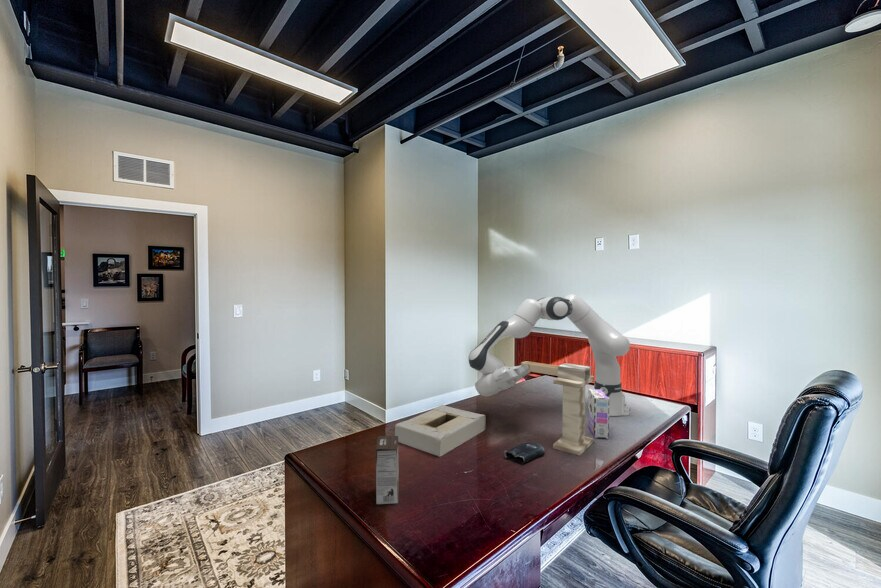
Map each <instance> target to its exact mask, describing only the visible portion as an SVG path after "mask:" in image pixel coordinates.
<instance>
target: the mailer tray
mask: <svg viewBox="0 0 881 588" xmlns="http://www.w3.org/2000/svg"><path fill="white" fill-rule="evenodd" d="M527 364H528V365H529V367H530V368H529V369H527V370H525V371H530V373H531V372H532V373H537V374H543V375H551V376H557V377H558V366H559V365H554V364H549V363H548V364H547V363H542V362H541V363H540V362H534V361H526V360H525V361H521V362H520V365H521V367H522V366H525V365H527Z"/></svg>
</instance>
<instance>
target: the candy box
mask: <svg viewBox="0 0 881 588" xmlns="http://www.w3.org/2000/svg"><path fill="white" fill-rule="evenodd" d="M587 392H588V393H587V394H588V397H587V399H588V404H587V409H588V417H587V419H588V420H587V421H588V428H589V430H590V432H591V434H592V436H593V438H595V439H605V440H606V439H607V440H609V439H610V436H609V435H610V432H609V431H610V416H609V398H608V397H607V395H606V394H605V393H604V392H603V391H602V390H600V389H595V388H588V391H587Z"/></svg>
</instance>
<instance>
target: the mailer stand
mask: <svg viewBox="0 0 881 588" xmlns="http://www.w3.org/2000/svg"><path fill="white" fill-rule="evenodd" d="M557 366H558V376H557V377H555V378H553V381H552V383H553V385H558V386H562V436H561V437H560V438H559V439H558V440H556V441H555V442H554V443H553V444H552V448H553V449H555V450H558V451H562V452H566V453H569V454H572V455H576V456H581V455H582V454H583V453H584V452H585V451H586V450H587V449H588V448H589V447H590V446H591V445H592V444H593V443H594V442H595V440H594V437H593V438H592V437H589V436H586V386H587V385H588V384H590V383H591V382H593V381H595V375H591V374H592V373H591V372H592V371H591V370H592V369H591V368H592V367H591V366H590V365H584V364H583V365H582V364H575V363H568V362H564V363H562V364H560V365H559V364H558V365H557Z"/></svg>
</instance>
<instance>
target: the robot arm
mask: <svg viewBox="0 0 881 588" xmlns="http://www.w3.org/2000/svg"><path fill="white" fill-rule="evenodd" d="M565 318H567V319H569V321H571V322H572V324H573V325H574V326H575V327H576V328H577V329H578V330H579V331H580V332H581V333H582V334H583V335H585V336H586V337H587V340H588V343H589V346H590V347H591V351H592V356H593V359H594V368H595V369H594V371H595V372H594V374H595V375H594V380H593V381H594V384H593V385H594V386H593V389H600V390H602V391H603V392H604V393H605V394H606V395H607V397H608V398H609V417H619V416H624V417H626V416H630V415H629V414H630V410H631V405H630V404H628V403H626V395H625V394H624V392H623V391H622V390H623V389H622V388H623V387H622V385H623V382H622V381H621V366H620V364H619V362H618V360H617V357H622V356H623V357H624V356H625V355H627V354H628V352H629V350H630V348H631V344H630V340H629V339H628V337H626V336H625V335H623V334H622V333H621V332H619V330H617V329H616V328H614V327H613V326H612V325H611V324H610V323H608V322H607V321H606V320H604V319H603V317H601V316H600V315H599V314H598V313H597V312H596V311H595V310H594V309H593V308H592V307H591V306H590V305H589V304H588V303H587V302H586V301H584V299H582V298H581V297H579V296H578V295H576V294H574V293H570V294H567V295H565V296H564V297H560V296H547V297H542V298H539V299H534V298H527V299H526V298H525V299H524V300H523V301H522V303H521V304H520V305H519V306H518V307H517V308H516V310H515V311H514V312H513V314H512V315H511V317H509V319H507V320H502V321H500V322H499V323H498V324H497V325H496V326H495V327H494V328H493V329H492V330H491V331H490V332H489V333H488V335H486V336H485V338H484V339H483V340H482V341H481V342H480V343H479V344H478V345H477V346H476V347H475V348H473V349H472V350H471V351H470V352H469V354H468V364H469V367H470V368H472V369H474V370H475V371H478V372H479V373H480V374H481V377H480V378H479V379H478V380H477V381H476V382H475V383H474V387H475V390H476V391H477V393H478V394H479V395H480V396H482V397H484V398H485V397H490V396H493V395H496V394H498V393H500V391H504V390H508V389H509V388H511V387H514V386H515V385H516V384H517V382H520V381H521V380H522V378H523V377H525V376H527V375H529V374H530V373H531V372H530V371H525V370H527V369H529V368H530V367H529V365H528V364H527V365H525V366H522V367H521V364H520V365H516V366H515V365H513V366H506V365H505V363H504V362H503V360H500V358H498V357H497V356H495V355H493V354H492V353H490V351H491V350H492V349H493V348H494V347H495V346H496V344H498V342H499V341H501V339H503V338H506V337H509V338H514V339H524V338H526V337H528V336H529V334H530V333H531V331H532V330H533V328H534V327H535V326H536V324H537V322H538V321H539V320H540V319H543V320H547V321H560V320H563V319H565Z"/></svg>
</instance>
